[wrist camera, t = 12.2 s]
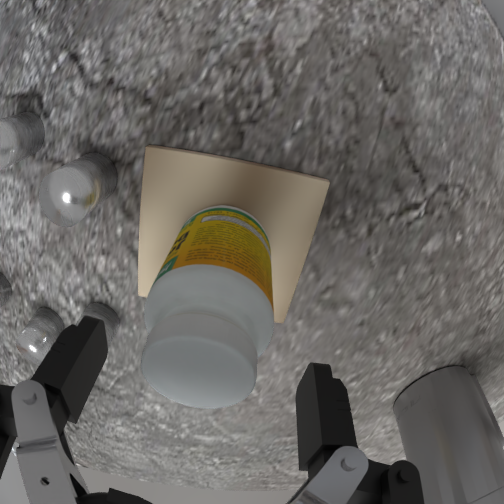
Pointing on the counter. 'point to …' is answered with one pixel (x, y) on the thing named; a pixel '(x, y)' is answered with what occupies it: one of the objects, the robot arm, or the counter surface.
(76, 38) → the counter surface
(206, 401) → the supplement bottle
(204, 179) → the pad
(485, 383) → the counter surface
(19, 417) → the robot arm
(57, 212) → the spacer posts
